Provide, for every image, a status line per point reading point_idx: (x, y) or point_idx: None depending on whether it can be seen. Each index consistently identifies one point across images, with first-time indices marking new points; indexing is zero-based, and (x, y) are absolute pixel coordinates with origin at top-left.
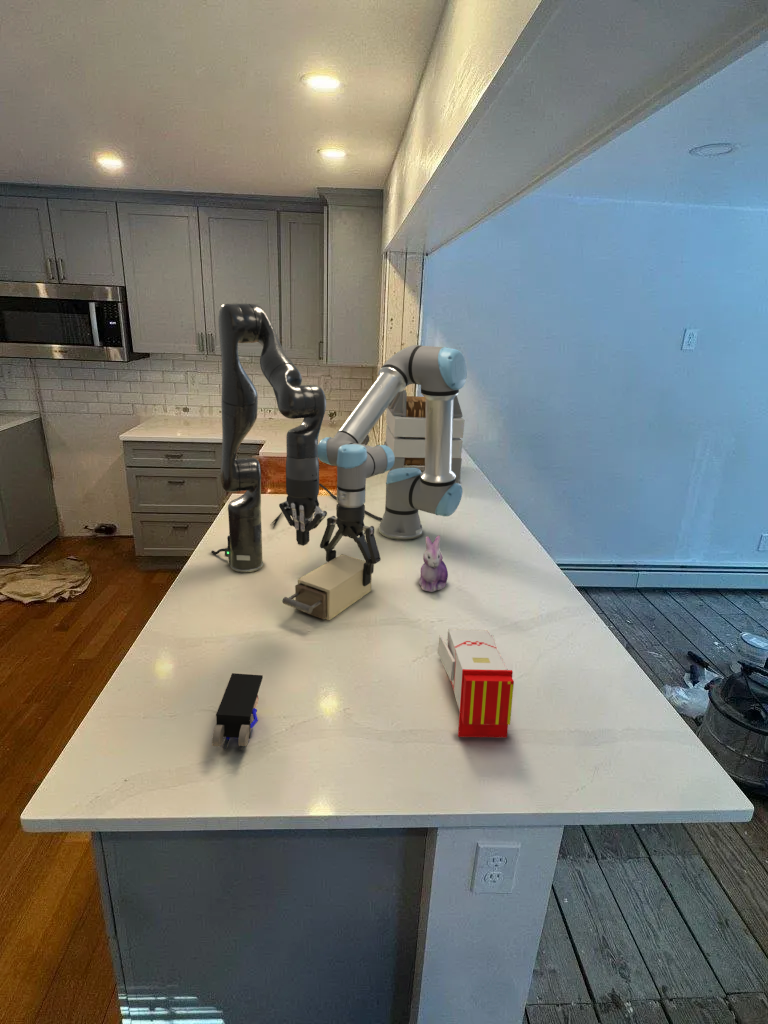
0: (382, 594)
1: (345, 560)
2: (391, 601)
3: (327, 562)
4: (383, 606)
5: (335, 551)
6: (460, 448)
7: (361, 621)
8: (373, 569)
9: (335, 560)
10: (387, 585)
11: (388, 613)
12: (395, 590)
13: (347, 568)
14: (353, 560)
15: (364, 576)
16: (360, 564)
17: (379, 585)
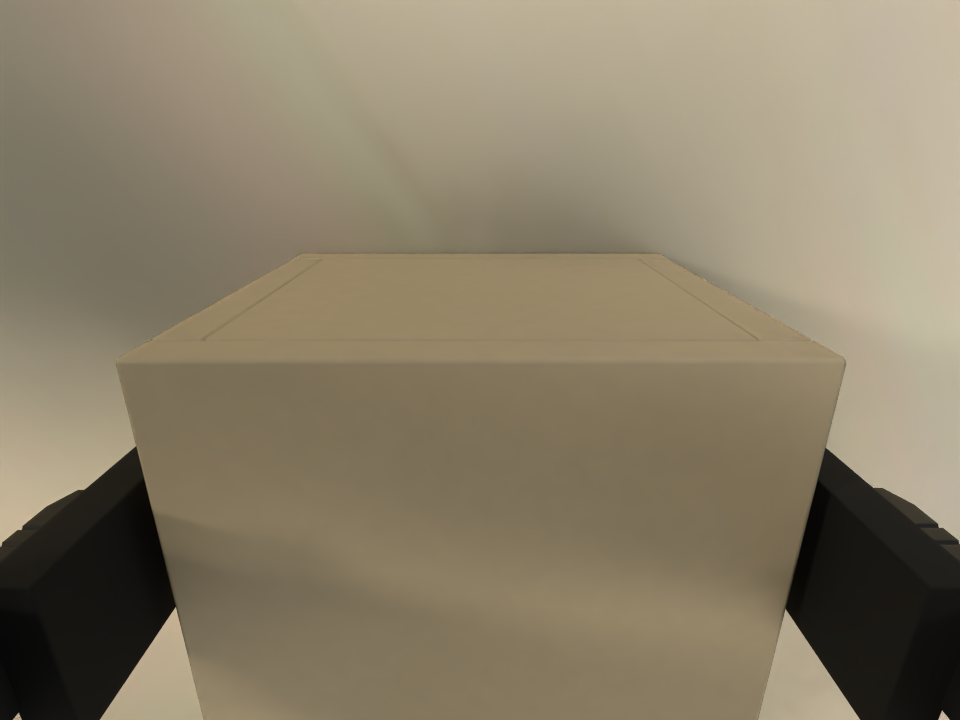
0: (787, 246)
1: (367, 537)
2: (912, 313)
3: (207, 717)
4: (870, 422)
5: (49, 589)
6: None
7: (792, 653)
8: (944, 529)
9: (243, 619)
10: (763, 25)
11: (942, 486)
12: (886, 82)
13: (566, 711)
14: (481, 465)
15: None
16: (673, 519)
17: (681, 85)
